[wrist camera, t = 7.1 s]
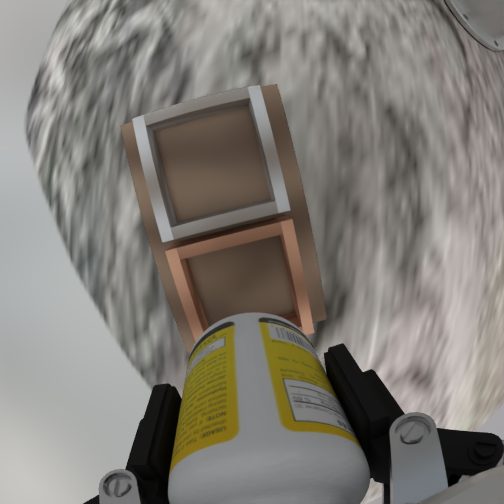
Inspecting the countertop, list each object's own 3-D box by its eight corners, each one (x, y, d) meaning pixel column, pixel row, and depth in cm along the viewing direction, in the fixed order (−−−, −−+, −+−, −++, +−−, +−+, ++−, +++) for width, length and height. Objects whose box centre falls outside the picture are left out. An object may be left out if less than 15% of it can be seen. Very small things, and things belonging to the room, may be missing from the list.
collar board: (125, 128, 20) (108, 119, 17) (274, 88, 20) (282, 72, 17) (189, 345, 25) (184, 369, 21) (322, 313, 25) (336, 333, 21)
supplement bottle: (199, 410, 13) (186, 598, 3) (180, 312, 11) (107, 559, 2) (310, 401, 13) (372, 578, 3) (315, 302, 12) (451, 516, 2)
